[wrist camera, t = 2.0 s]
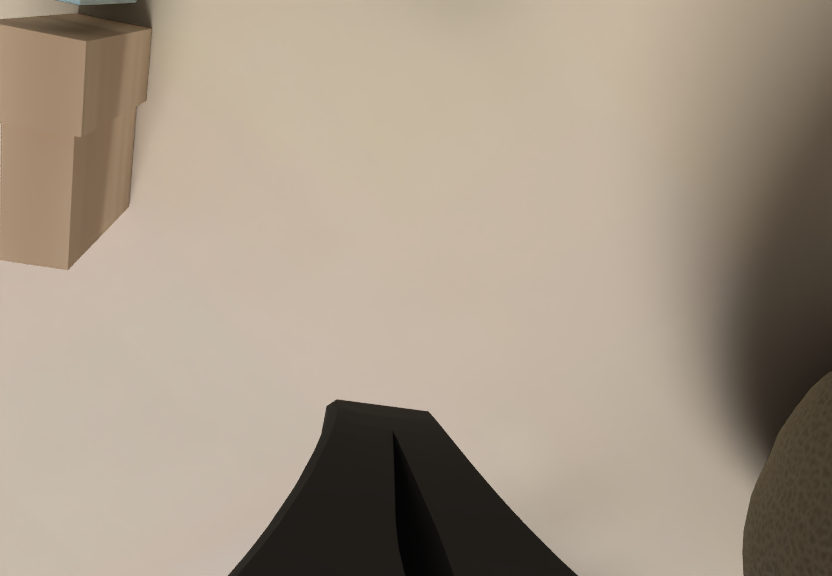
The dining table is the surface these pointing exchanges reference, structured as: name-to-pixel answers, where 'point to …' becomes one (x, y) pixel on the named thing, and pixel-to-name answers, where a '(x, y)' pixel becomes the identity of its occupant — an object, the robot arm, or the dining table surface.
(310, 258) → the dining table surface
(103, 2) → the light blue bar
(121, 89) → the tan wooden flat bar
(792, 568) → the cantaloupe
